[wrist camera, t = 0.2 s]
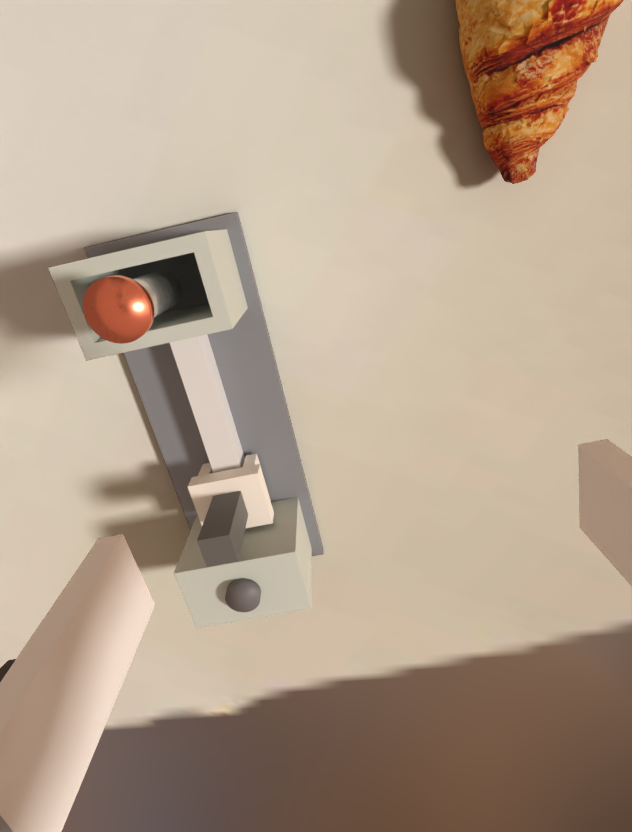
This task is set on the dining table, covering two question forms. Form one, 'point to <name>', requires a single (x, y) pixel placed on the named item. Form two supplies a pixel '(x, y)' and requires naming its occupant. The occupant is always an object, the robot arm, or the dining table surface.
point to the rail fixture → (212, 407)
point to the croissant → (526, 69)
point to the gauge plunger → (129, 304)
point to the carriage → (229, 508)
